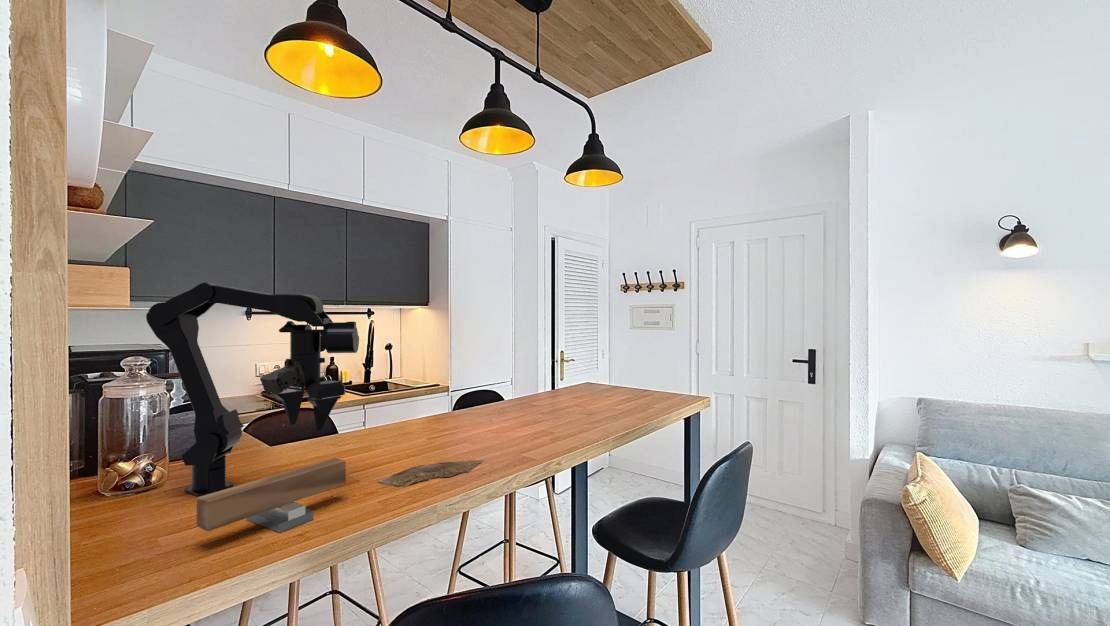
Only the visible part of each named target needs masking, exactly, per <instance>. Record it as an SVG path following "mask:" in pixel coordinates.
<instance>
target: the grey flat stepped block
mask: <svg viewBox="0 0 1110 626" xmlns="http://www.w3.org/2000/svg"><path fill="white" fill-rule="evenodd" d="M246 520H247V521H249V522H251V523H254V524H257V525H258V526H262V527H264V528H266V529H269V530H271V531H274V532H277V533H279V534H281V533H283V532H285V531H288V530H291V529H293V528H296V527H298V526H301V525H304V524H306V523H308V522H312V521H313V520H314V510H311V509H308V508H306V505H304V504H303V503H299V502H297V501H295V502H292V503H289V504H286V505H283V506H280V507H277V508H274V509H271V510H269V511H266V512H263V513H260V514H257V515H254V516H251V517H248V518H246Z"/></svg>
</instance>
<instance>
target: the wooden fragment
mask: <svg viewBox="0 0 1110 626" xmlns="http://www.w3.org/2000/svg"><path fill="white" fill-rule="evenodd" d="M483 462H484V459H478V460H464V461H448V462H447V461H446V462H436V463H429V464H428V463H427V464H420V465H417V466H413V467H410V468H406V469H404V470H402V471H400V472H398V473H397V472H396V473H395V474H391V475H389V476H387V477H385V478H382V479H379V480H377V482H376V484H380V485H383V486H387V487H388V486H391V487H397V488H398V487H401V488H405V487H408V486H410V485H413V484H417V483H419V482H425V481H429V480H433V479H434V480H435V479H443V478H448V477H454V476H456V475H458V474H462V473H463V474H464V473H469V472H471V471H472V470H474V469H475V468H476V467H477V466H478V465H479V464H483Z"/></svg>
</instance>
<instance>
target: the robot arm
mask: <svg viewBox="0 0 1110 626" xmlns="http://www.w3.org/2000/svg"><path fill="white" fill-rule="evenodd" d="M216 304H221V305H229V306H234V307H240V308H248V309H252V310H254V309H255V310H260V311H266V312H269V313H273V314H275V315H278V316H280V317H283V318H286V319H289V320H288V321H286V323H285V324H284V325H283V326H282V327H281V328H279V329H278V332H279V333H290V336H289V337H290V341H289V344H290V347H289V349H290V351H289V354H290V355H289V358H286V359H285V360H284V366H282V367H281V368H278V369H275V370H274V371H271V372H269V373H266V374H265V375H263V376H261V377H259V380H260V382H261V385H262V387H263V390H264V392H265V393H266V394H268V393H270V394H271V396H273V397H275V398H276V399H278V400H280V402H281V404H282V407H283V409H284V412H285V414H286V417H287V421H288V423H289V425H290V426H293V425H296V423H297V421H298V417H299V414H300V410H301V405H302V402H303V397H304V395H305V392H307V395H308V397H309V398H307V399H306V401H308V402H309V403H310V404H311V405H312V407H313V417H314V426H315V431H320V430H321V431H322V430H323V428H324V426H325V424H326V422H327V419H328V418H329V417H330V413H331V412H332V410H333V408H334V407H335V405H336V403H337V401H338V400H339V399H340V400H341V398H342V396H345V395H346V385H345V384H344V383H343V382H342V381H339V380H338V381H337V380H326V376H321V364H322V363H326V357H321V348H322V349H323V350H326V352H327V354H358V353H357V352H358V350H359V348H360V347H359V344H360V337H359V336H360V335H359V332H358V328H357V322H356V321H346V322H338V321H337V322H333V320H332V319H331V318H330V316H329V315H328V314H327V312H325V310H324V304H323V302H322V300H321V299H320V298H319V297H317V296H316V295H313V294H305V293H304V294H302V293H283V294H281V293H280V294H279V293H277V294H275V293H268V292H261V291H256V290H251V289H245V288H239V287H238V288H237V287H232V286H225V285H222V284H219V283H216V282H215V283H214V282H202V283H199V284H198V285H196V286H194V287H193V288H191V289H189V290H187V291H185V292H182V293H180V294H178V295H175V296H174V297H172V298H169V299H168V300H167V301H163V302H162V301H161V302H158V303H157V302H156V303H155V304H153V305H152V306H151V307H150V308H149V309H148V312H147V313H146V316H145V318H146V322H147V324H148V326H149V328H150V329H151V331H152V332H153V333H154V335H155V337H156V338H157V339H159V341H161V343H163V345H165V346H166V347H167V348H168V349H169V352H170V354H171V356H172V359H173V361H174V364H175V366H176V369H177V372H178V373H179V376H180V380H181V382H182V385H183V387H184V389H185V392H186V395H187V397H188V399H189V402H190V405H191V406H192V409H193V413H194V423H193V424H194V425H193V435H194V441H195V443H194V444H193V445H192V446H191V447H190V448H189V449H187V450H186V451H185V452H184V453H183V454H182V455H181V459H182V462H183V463H184V466H187V467H188V466H190V467H191V485H190V486H186V487H184V488H183V491H184V492H187V493H190V494H192V495H194V496H197V497H201V496H204V495H207V494H211V493H214V492H218V491H221V490H225V489H228V488H232V487H234V483H232V482H228V481H227V479H226V478H227V476H226V475H227V474H226V473H227V472H226V471H227V469H226V468H227V466H226V465H227V461H226V460H227V458H226V455H228V454H230V453H231V452H232V450H233V448H234V446H235V445H237V444H238V442H240V439H241V438H242V436H243V429H242V428H244V427H245V425H244V424H243V423H242V422H241V420H240V417H239V412H238V410H237V409H232V410H230V411H229V410H228V409H227V408H226V407H225V406H224V405H223V404H222V401H221V399H220V397H219V395H218V391H217V388H216V385H215V383H214V381H213V379H212V376H211V374H210V371H209V368H208V366H207V363H206V360H205V357H204V355H203V353H202V351H201V348H200V345H199V342H198V336H199V329H200V326H199V321H198V318H199V317H202V316H203V315H204V314H206V313H207V312H208V311H209V310H210V309H212V307H213V306H214V305H216ZM292 320H293V321H292ZM294 321H295V322H298V323H299V322H300V323H304V322H305V323H307V324H296V323H295V322H294ZM312 327H315V328H316V327H321V328H322V329H321V328H320V329H318V328H316V329H315V328H312Z"/></svg>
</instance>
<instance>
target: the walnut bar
mask: <svg viewBox="0 0 1110 626" xmlns="http://www.w3.org/2000/svg"><path fill="white" fill-rule="evenodd" d="M346 464H347V463H346V460H343V459H340V458H336V457H333V458H330V459H326V460H323V461H319V462H315V463H312V464H310V465H309V464H308V465H305V466H302V467H299V468H295V469H292V470H287V471H284V472H281V473H280V472H279V473H277V474H274V475H271V476H267V477H262V478H260V479H257V480H254V481H249V482H246V483H243V484H239V485H236V486H233V487H230V488H227V489H223V490H220V491H216V492H213V493H209V494H206V495H202V496H197V497H196V527H197V528H200V530H201V529H202V530H204V531H206V532H211V531H213V530H217V529H219V528H221V527H225V526H227V525H228V526H229V525H231V524H233V523H237V522H239V521H242V520H247V518H248V517H251V516H254V515H257V514H260V513H263V512H266V511H269V510H271V509H274V508H277V507H280V506H283V505H286V504H289V503H292V502H297V501H300V500H303V499H305V498H309V497H312V496H315V495H317V494H321V493H324V492H325V491H329V490H332V489H335V488H338V487H340V486H343V485H346V483H347V482H346V481H347V480H346V478H347V477H346V476H347V475H346V474H347V470H346V468H347V467H346V466H347V465H346Z"/></svg>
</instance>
